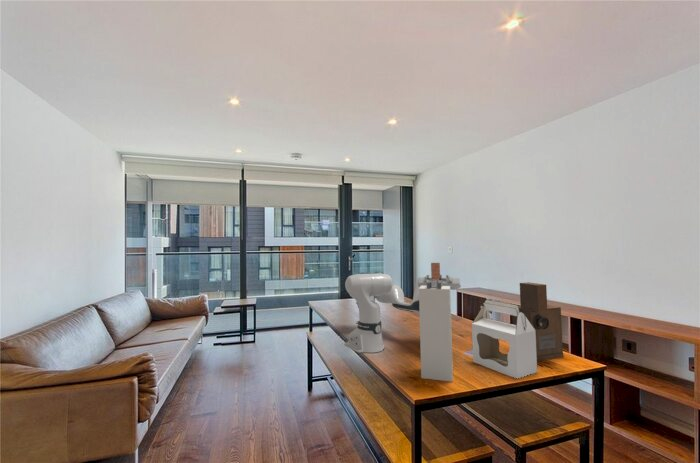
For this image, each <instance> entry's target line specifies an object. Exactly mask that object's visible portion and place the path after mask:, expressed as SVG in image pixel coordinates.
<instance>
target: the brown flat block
mask: <svg viewBox="0 0 700 463" xmlns="http://www.w3.org/2000/svg"><path fill="white" fill-rule="evenodd" d="M440 265H441V264H440V262H430V271H431V272H430V277H431V279H433V280H432V281H431V287H434V288H437V287H438V281H439V280H442V278H443V277H442V276H443V275H442V274H441V266H440Z"/></svg>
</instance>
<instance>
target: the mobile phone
mask: <svg viewBox="0 0 700 463" xmlns="http://www.w3.org/2000/svg"><path fill="white" fill-rule="evenodd" d="M463 354H464V355H467V356H470V357H473V348H472V349H470V350H466V351H464V352H463Z"/></svg>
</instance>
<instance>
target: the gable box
mask: <svg viewBox="0 0 700 463" xmlns="http://www.w3.org/2000/svg"><path fill="white" fill-rule="evenodd" d="M519 306H520V305H518V304H513V303H507V302H502V301H501V302H500V301H496V300H489V299H486V300H485V301H484V302H483V305H480V310H479V311H478V313H477V314H476V316H475V318H474V319H473V321H472V323H471V334H472V335H471V337H472V340H471V341H472V349H473V356H472V362H473V363H475V364H478V365H479V366H483V367H485V368H487V369H489V370H493V371H496V372H498V373H500V374H503V375H505V376H508V377H511V378H513V377H514V378H513V379H516V378H517V380H519V379H522V378H525V377H528V376H531V375H534V374H536V373H538V362H537V356H536V333H535V329H534V328H533V326H532V325H531V323H530V322H529V321H528V319H527V318H526V316H525V314H523V313H522V312H520V310H519ZM490 312H495V313H500V314H504V315H509V316H513V315H514V316H517V324H516V325H514V324H513V323H510V322H504V321H500V320H496V319H492V318H491V315H490ZM499 340H503V341H505V342H507V343H508V345H509V350H508V353H503V352H501V351H500V341H499ZM530 374H531V375H530ZM527 375H528V376H527ZM524 376H525V377H524ZM521 377H522V378H521ZM518 378H519V379H518Z"/></svg>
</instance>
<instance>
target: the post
mask: <svg viewBox="0 0 700 463" xmlns="http://www.w3.org/2000/svg"><path fill="white" fill-rule="evenodd" d="M431 281H432V280H429V281H428V282H427V286H424V285H421V287H420V288H419V311H420V314H419V335H420V336H419V338H420V340H419V343H420V347H419V348H420V378H421V379H427V380H434V381H443V382H444V381H445V382H451V383H453V376H454V375H453V373H454V371H453V370H454V368H453V367H454V365H453V345H452V344H453V342H452V341H453V340H452V339H453V337H452V335H453V333H452V307H451V306H452V305H451V302H452V300H451V299H452V298H451V290H450V286H442V280H439V281H438V287H437V288H434V287H431Z"/></svg>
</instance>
